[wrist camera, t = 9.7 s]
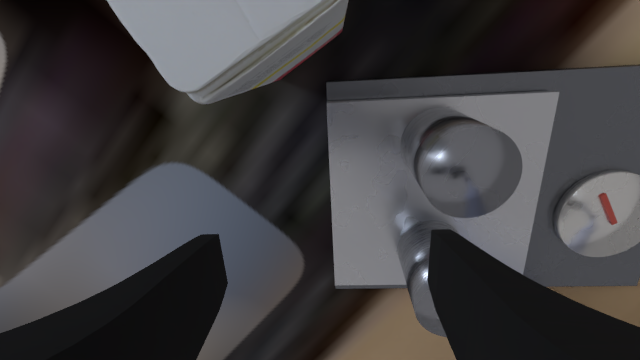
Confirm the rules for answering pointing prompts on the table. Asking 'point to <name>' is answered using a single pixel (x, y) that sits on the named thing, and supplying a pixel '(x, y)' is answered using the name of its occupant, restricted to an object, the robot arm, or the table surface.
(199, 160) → the table surface
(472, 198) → the cylinder
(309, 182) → the table surface
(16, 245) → the table surface
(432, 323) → the cylinder
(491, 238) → the pan
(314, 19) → the ink box
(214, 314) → the robot arm
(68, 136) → the table surface
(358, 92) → the scale base
